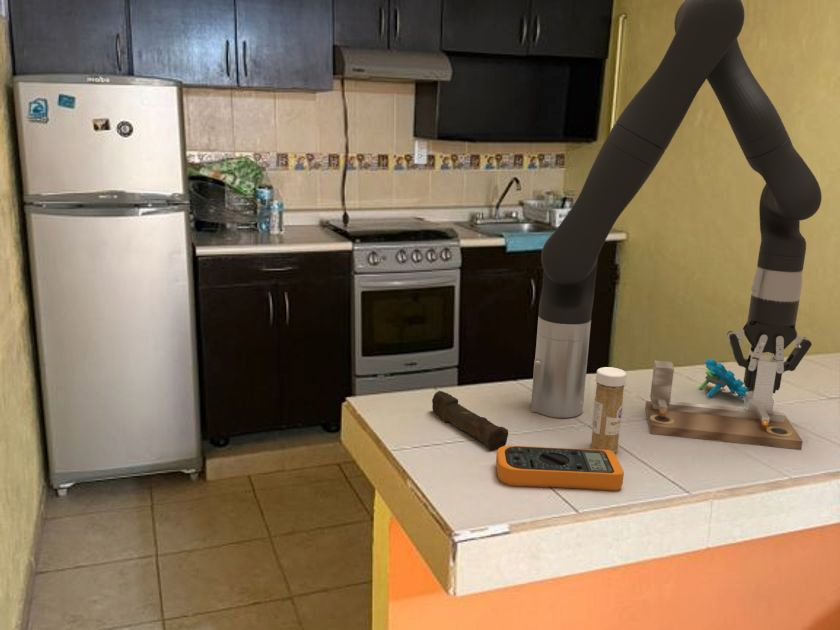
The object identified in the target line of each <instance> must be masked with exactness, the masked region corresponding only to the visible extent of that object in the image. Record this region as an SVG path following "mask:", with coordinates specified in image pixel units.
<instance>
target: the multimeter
mask: <svg viewBox="0 0 840 630" xmlns="http://www.w3.org/2000/svg"><path fill="white" fill-rule="evenodd" d="M495 456H496V457H495V463H496V471H497V477H498V479H499V480H500V481H501V482H502V484H503V483H504V484H505V485H508V486H511V487H513V486H514V487H536V488H537V487H543V488H567V489H568V488H569V489H570V488H571V489H587V490H598V491H599V490H602V491H615V492H616V491H618V490H620V489H621V488H622V486H623V483H624V474H625V471H624V470H623V467H622V465H621V464H620V461H619V459H618V457H617V455H616V453H614V452H612V451H610V450H597V449H591V448H587V449H586V448H565V447H544V446H528V445H513V444H511V445H509V444H508V445H505V446H503V447H500V448H499V449H498V450H496V455H495Z"/></svg>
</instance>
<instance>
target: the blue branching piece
mask: <svg viewBox="0 0 840 630" xmlns="http://www.w3.org/2000/svg"><path fill="white" fill-rule="evenodd" d="M704 363H705V367H706V369H707V370H706V371H705V374H706V376H705V377H704V378H705V381H703V382H702V384H700V385H699V386H698V388H699V389H700V390H703V389H704V388H705V387H706V386H707V385H708V384H709V383H710V384H714V386H713V388H711V390H709V392H708V393H707V394H706V395H707V396H708V397H709V398H710V399H712V398H713V397H714V396H715V395H716V394H717V393H718V392H719V391H720V390H721V389H722V388H725V387H726V386H727V388H728V390H729V391H730V392H731V393H734V394H735V393H736V394H737V396H738V397H740V398H742V397H744V398H745V392H748V389H747V387H745V386H743V385H744V381H742V380H741V379H739V378H738V379H736V377H735V376H736V375H735V373H734V372H732V371H731V370H727V369H726V367H725V366H724V364H722V363H718V362H717V361H716V360H715V359H714V358H713V359H709V358H707V359H706V360H705V362H704Z"/></svg>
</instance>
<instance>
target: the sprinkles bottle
mask: <svg viewBox="0 0 840 630" xmlns="http://www.w3.org/2000/svg"><path fill="white" fill-rule="evenodd" d="M595 376H596V377H595V381H596V389H595V398H594V405H593V415H592V416H593V417H592V427H591V430H592V431H591V441H590V445H589V446H590V447H589V449H597V450H610V451H612V452H614V453H615V454H617V453H618V452H619V438H620V433H621V432H620V431H621V424H622V423H621V422H622V414H623V401H624V400H623V399H624V387H625V385H626V383H627V372H626V371H625V370H623V369H621V368H617V367H611V366H608V367H607V366H604V367H600V368H598V369H597V370H596V375H595Z"/></svg>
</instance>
